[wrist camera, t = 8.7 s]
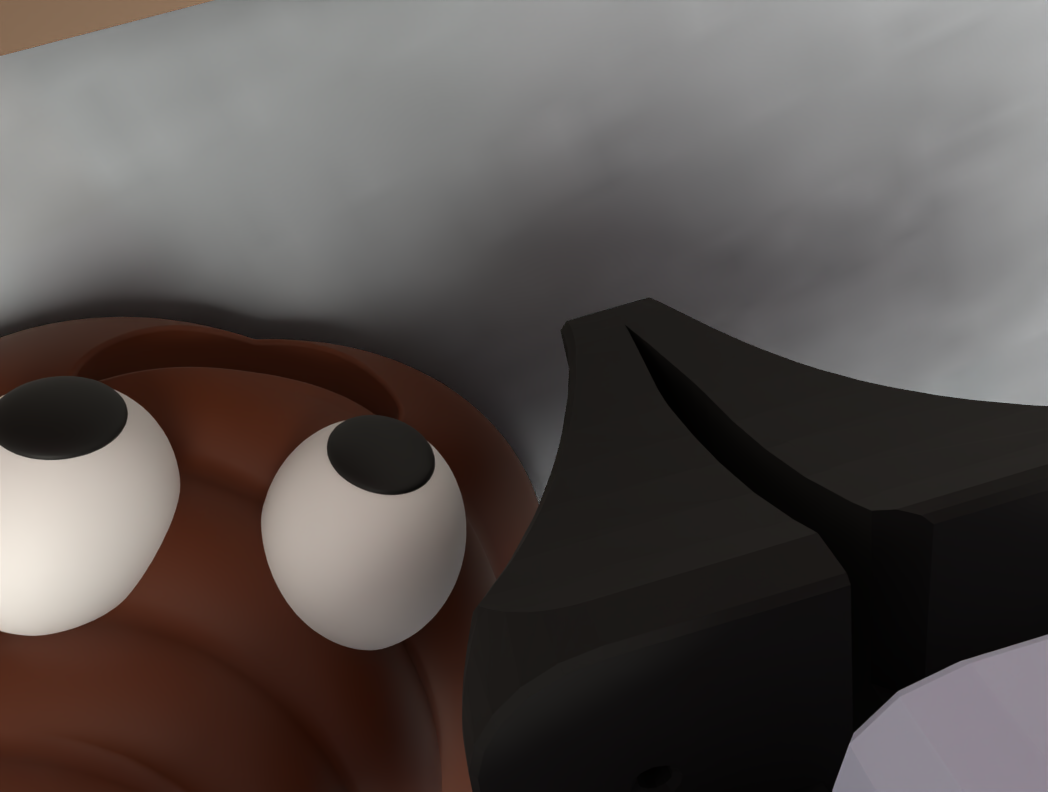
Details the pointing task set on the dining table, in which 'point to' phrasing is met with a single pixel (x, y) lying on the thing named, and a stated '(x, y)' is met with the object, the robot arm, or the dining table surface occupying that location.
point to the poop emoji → (238, 562)
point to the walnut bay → (71, 18)
